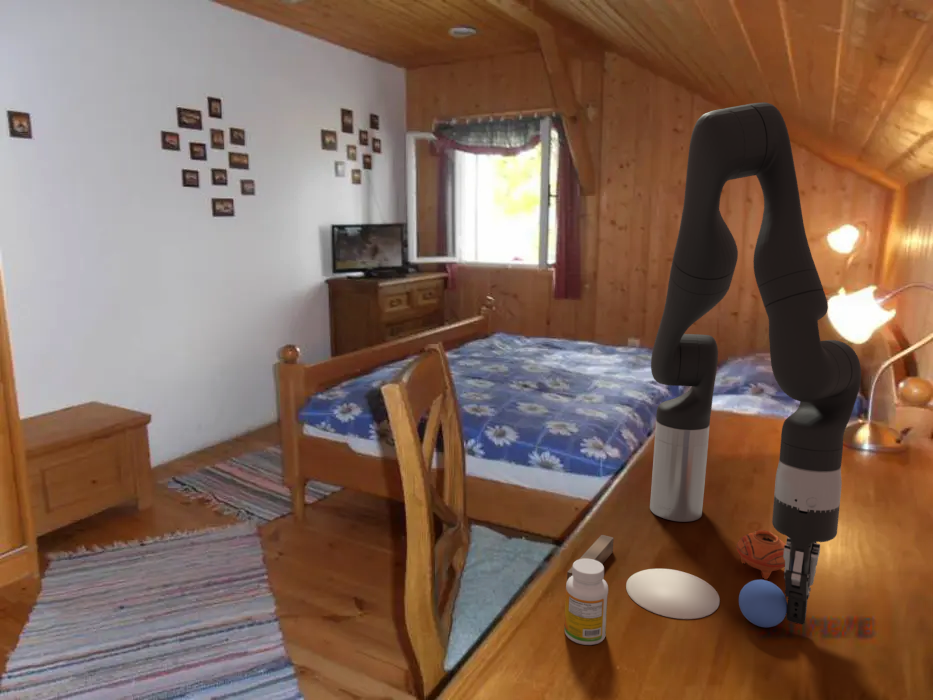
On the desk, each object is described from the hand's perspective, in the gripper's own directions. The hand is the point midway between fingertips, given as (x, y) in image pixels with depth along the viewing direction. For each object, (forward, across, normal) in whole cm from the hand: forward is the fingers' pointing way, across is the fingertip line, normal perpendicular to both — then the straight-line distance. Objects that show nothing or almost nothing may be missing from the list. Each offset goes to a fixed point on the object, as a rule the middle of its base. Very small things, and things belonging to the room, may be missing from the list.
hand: (795, 620), depth 90 cm
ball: (-2, +1, -4) cm, 4 cm away
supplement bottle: (+1, +15, -23) cm, 28 cm away
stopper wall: (+1, -1, -29) cm, 29 cm away
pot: (+2, -14, -6) cm, 16 cm away
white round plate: (+1, 0, -16) cm, 16 cm away
